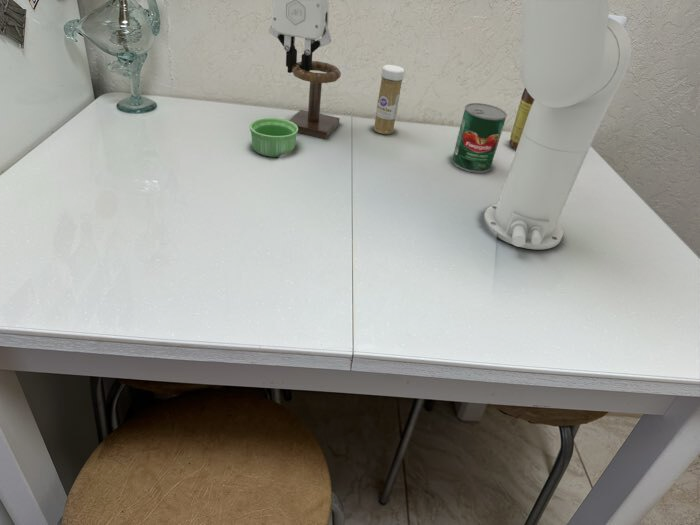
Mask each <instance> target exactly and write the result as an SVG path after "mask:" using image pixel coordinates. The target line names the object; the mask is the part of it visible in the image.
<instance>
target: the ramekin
mask: <svg viewBox="0 0 700 525" xmlns="http://www.w3.org/2000/svg"><path fill="white" fill-rule="evenodd" d="M249 131H250V135H251V136H250V137H251V145H252V149H253V150H254V151H255V152H256V153H257V154H259V155H262V156H265V157H271V158H280V157H281V156H282V155H283V154H286V153H290V152H292V151H294V149H295V148H296V144H297V136H298V134H299V133H298V127H297V125H296V124H294V123H293V122H291V121H289V119H285V118H279V117H262V118H257V119H255V120H253V121H251V122H250V123H249Z"/></svg>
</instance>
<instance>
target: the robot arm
mask: <svg viewBox="0 0 700 525" xmlns="http://www.w3.org/2000/svg"><path fill="white" fill-rule="evenodd" d="M610 5H611V0H522V5H521V6H522V8H521V9H522V10H521V35H520V36H521V37H520V73H521V79H522V82H523V85H524V89H525V88H526V90H527V92H528V93H529V94H530V96H531V97H532V98H533V99H534V102H533V104H532V107H531V109H530V112H529V114H528V117H527V120H526V123H525V126H524V129H523V132H522V135H521V137H520V140H519V143H518V146H517V149H515V153H514V155H513V158H512V161H511V164H510V167H509V170H508V173H507V176H506V179H505V182H504V186H503V188H502V191H501V194H500V197H499V200H498V203H493V204H492V205H490V206H488V207H487V208H486V210H485V211H484V216H483V217H484V221H485V223H486V225H487V226H488V227H489V228H490V229H491V230H492V231H493V232H495V233H496V237H497V238H498V239H499V240H501V241H502V242H505V243H507V244H510V245H512V246H515V247H517V248H522V249H526V250H534V251H535V250H548V249H552V248H555V247H556V246H557V245H558V246H559V244H560V242H561V240H562V238H563V236H564V230H563V228H562V226H561V225H560V223H559V219H560V217H561V215H562V213H563V210H564V208H565V206H566V203H567V201H568V198H569V196H570V194H571V191H572V190H573V187H574V186H575V182H576V180H577V178H578V176H579V173H580V171H581V168H582V166H583V163H584V162H585V159H586V157H587V154H588V152H589V150H590V148H591V147H592V146H591V145H592V143H593V141H594V139H595V136H596V134H597V132H598V131H599V130H598V129H599V128H600V125H601V124H602V122H603V119H604V117H605V115H606V113H607V111H608V109H609V107H610V105H611V103H612V101H613V99H614V97H615V96H616V93H617V92H618V91H619V88H620V86H621V84H622V82H623V81H624V78H625V76H626V73H627V71H628V69H629V66H630V62H631V57H632V42H631V38H630V34H629V33H628V31H627V29H626V28H625V27H624V26H623V24H621V23H620V22H619V21H617V20H616V19H613V18H611V17H609V15H610V14H609V13H610ZM329 6H330V5H329V0H272V4H271V19H270V21H271V22H270V23H271V24H270V27H269V30H268V32H269V34H270V35H271V36H273V38H276V39H278V41H279V42H280V44H281V45H282V46H283V50H284V51H285V52H286V53H285V55H286V56H285V67H287V73H289V74H291V73H292V74H293V72H292V70H291V68H292V66H293V65H294V64H296V63H297V62H298V49H297V48H296V38H301V39H304V50H303V53H302V54H301V58H300V59H301V60H300V62H301V69H303V70H305V71H309V72H312V70H311V68H312V61H313V53H314V52H316V50H318V48H321V47H325V46H327V45H330V44H331V43H332V37H331V34H330V30H329V18H330V17H329V16H330V14H329V12H330V10H329Z"/></svg>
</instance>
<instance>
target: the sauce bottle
mask: <svg viewBox="0 0 700 525" xmlns="http://www.w3.org/2000/svg"><path fill="white" fill-rule="evenodd" d="M533 102H534V99H533V98H532V97H531V96H530V94H529V93H528V92H527V90H526V88H525V87H524V88H523V92H522V95H521V97H520V102H519V104H518V107H517V108H518V109H517V112H516V115H515V119H514V122H513V126H512V130H511V132H510V133H511V134H510V137H509V138H510V140H509V145H510V147H511V148H512V149H515V150H516V149H517V146H518V143H519V140H520V137H521V135H522V132H523V129H524V126H525V123H526V120H527V117H528V114H529V112H530V109H531V107H532V104H533Z"/></svg>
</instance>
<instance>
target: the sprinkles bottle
mask: <svg viewBox="0 0 700 525" xmlns="http://www.w3.org/2000/svg"><path fill="white" fill-rule="evenodd" d="M380 77H381V80H380V86H379V92H378V99H377V102H376V103H377V104H376V108H375V109H376V110H375V119H374V125H373V130H374V132H376V133H377V134H380V135H392V134H393V133H394V132H395V123H396V118H397V113H398V107H399V102H400V96H401V94H400V93H401V90H402V84H403V80H404V78H405V68H403V66H402V67H401V66H399V65H396V64H395V65H394V64H385V65H382V69H381V73H380Z"/></svg>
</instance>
